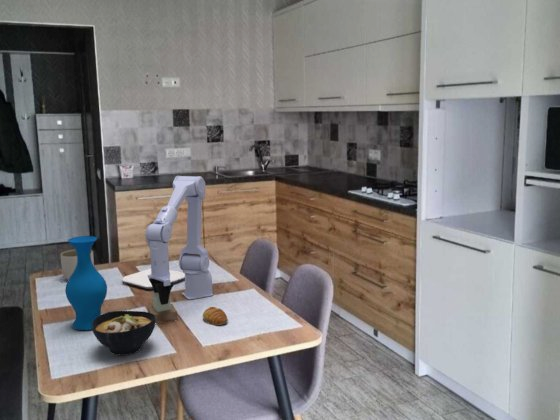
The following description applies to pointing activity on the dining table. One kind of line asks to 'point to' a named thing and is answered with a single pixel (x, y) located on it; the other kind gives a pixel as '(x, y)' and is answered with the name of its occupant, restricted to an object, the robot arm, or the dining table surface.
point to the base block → (164, 314)
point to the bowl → (123, 330)
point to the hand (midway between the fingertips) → (161, 301)
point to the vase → (85, 285)
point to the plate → (143, 280)
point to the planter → (70, 262)
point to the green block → (157, 304)
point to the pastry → (215, 316)
